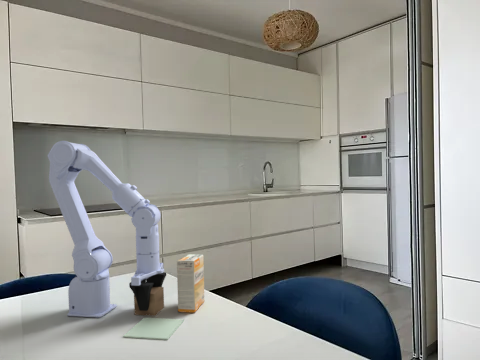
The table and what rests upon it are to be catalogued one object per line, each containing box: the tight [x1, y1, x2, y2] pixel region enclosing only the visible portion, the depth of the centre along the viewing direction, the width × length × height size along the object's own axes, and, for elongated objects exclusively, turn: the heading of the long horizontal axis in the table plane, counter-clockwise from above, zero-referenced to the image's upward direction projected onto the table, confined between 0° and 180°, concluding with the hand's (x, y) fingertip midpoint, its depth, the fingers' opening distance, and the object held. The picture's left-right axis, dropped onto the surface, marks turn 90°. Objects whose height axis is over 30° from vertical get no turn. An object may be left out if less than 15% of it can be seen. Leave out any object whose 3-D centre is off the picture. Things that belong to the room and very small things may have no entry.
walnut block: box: [133, 286, 165, 317], centre depth 91 cm, size 6×6×6 cm
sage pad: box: [123, 317, 185, 341], centre depth 80 cm, size 10×10×1 cm
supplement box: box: [176, 253, 205, 314], centre depth 93 cm, size 8×5×13 cm, turn 168°
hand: (149, 305), depth 91 cm, fingers open, 6 cm apart
